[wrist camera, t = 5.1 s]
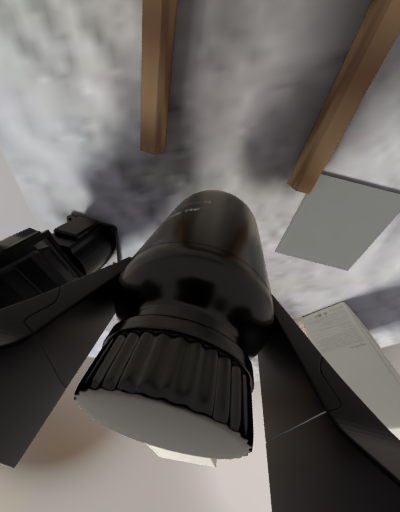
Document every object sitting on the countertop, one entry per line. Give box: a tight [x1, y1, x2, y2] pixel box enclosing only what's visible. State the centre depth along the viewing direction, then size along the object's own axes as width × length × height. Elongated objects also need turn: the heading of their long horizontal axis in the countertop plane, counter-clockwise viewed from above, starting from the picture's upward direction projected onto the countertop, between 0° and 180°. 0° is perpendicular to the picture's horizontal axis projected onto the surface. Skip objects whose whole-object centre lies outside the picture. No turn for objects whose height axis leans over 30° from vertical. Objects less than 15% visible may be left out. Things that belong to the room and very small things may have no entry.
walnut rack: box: [140, 0, 400, 194], centre depth 13 cm, size 14×15×3 cm
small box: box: [301, 302, 400, 440], centre depth 22 cm, size 8×6×13 cm
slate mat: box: [275, 174, 400, 271], centre depth 19 cm, size 9×9×1 cm
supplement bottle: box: [74, 190, 274, 459], centre depth 10 cm, size 7×7×12 cm
